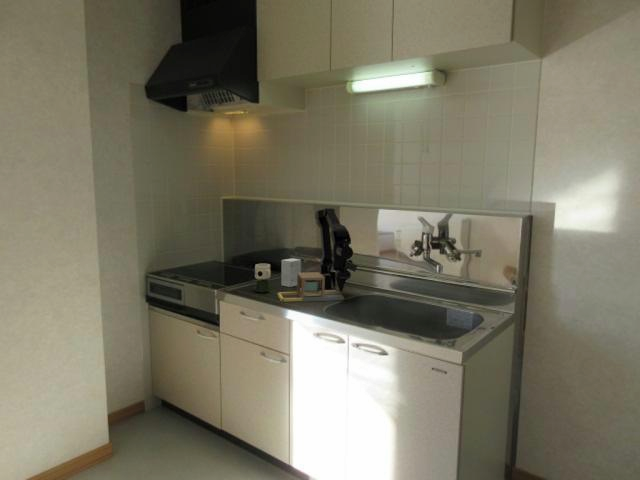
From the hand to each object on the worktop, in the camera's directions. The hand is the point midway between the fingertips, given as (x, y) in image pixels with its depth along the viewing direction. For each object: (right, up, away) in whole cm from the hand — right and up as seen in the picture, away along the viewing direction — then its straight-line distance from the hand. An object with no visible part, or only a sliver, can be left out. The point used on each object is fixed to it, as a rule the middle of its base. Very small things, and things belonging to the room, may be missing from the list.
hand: (338, 289), depth 212 cm
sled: (-8, -2, -2) cm, 8 cm away
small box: (-23, 0, +22) cm, 32 cm away
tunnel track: (-13, -4, -3) cm, 13 cm away
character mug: (-35, -2, +6) cm, 36 cm away
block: (-13, -1, -3) cm, 13 cm away
